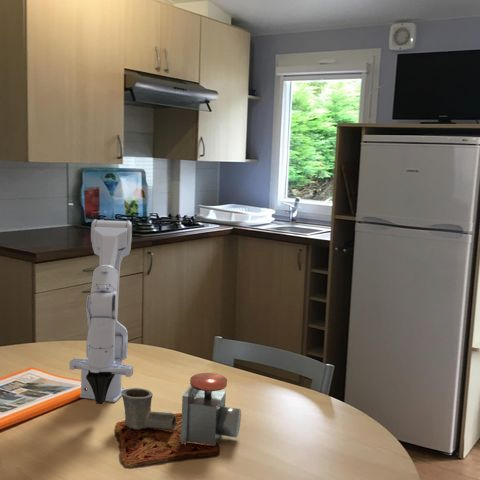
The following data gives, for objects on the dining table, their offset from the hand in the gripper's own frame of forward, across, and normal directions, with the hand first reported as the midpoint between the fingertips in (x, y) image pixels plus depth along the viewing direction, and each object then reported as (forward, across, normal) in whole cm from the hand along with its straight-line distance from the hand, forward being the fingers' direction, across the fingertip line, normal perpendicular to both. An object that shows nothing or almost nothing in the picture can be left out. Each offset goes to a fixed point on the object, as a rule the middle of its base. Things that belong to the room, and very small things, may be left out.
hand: (100, 402), depth 141 cm
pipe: (+5, +11, 0) cm, 12 cm away
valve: (+4, +26, 0) cm, 26 cm away
